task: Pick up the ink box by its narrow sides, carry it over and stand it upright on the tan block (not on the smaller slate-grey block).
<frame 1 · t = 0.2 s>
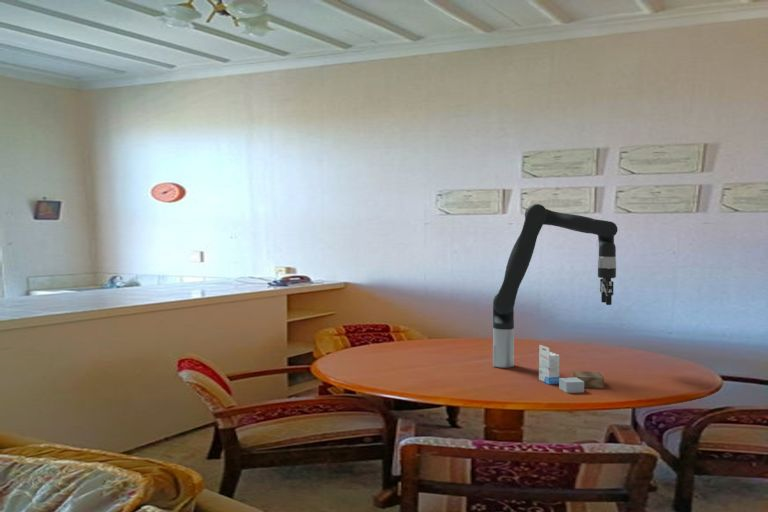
hand: (606, 303, 268), 29 cm above the table, fingers open, 8 cm apart
grey block: (571, 390, 234), on the table
tan block: (588, 384, 243), on the table
ink box: (549, 382, 247), on the table
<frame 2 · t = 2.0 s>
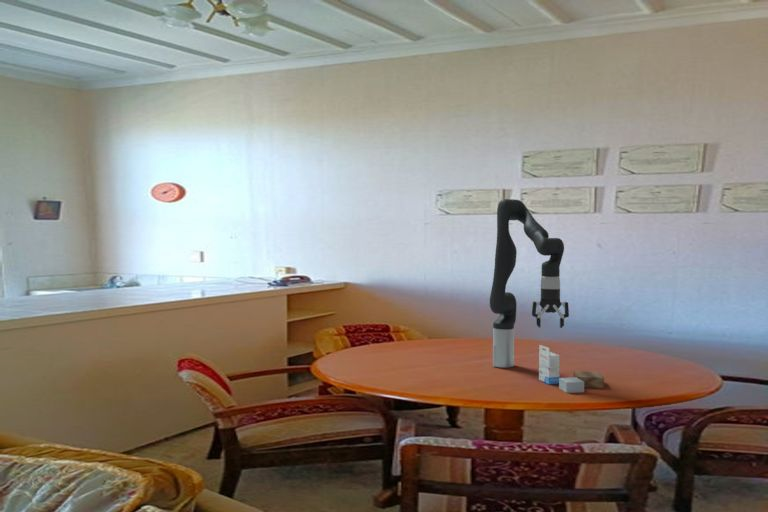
hand: (550, 327, 246), 22 cm above the table, fingers open, 8 cm apart
nothing on the table moved.
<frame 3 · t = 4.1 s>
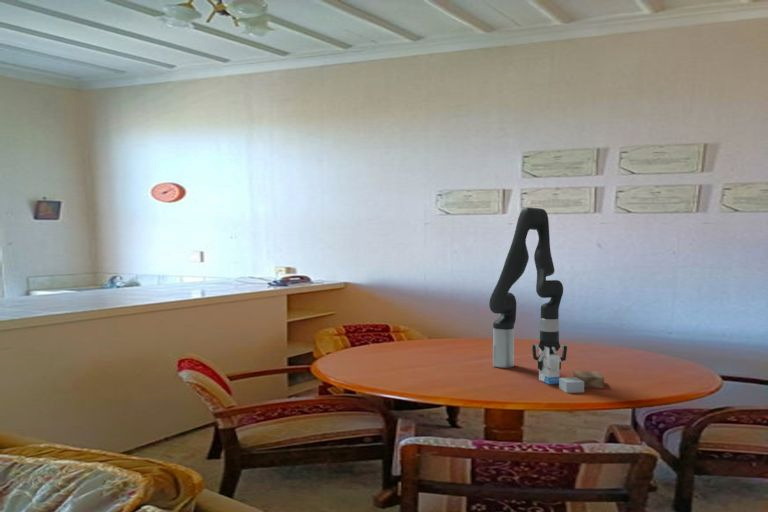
hand: (549, 370, 247), 5 cm above the table, fingers closed on ink box, 6 cm apart
ink box: (549, 382, 247), on the table, touching gripper
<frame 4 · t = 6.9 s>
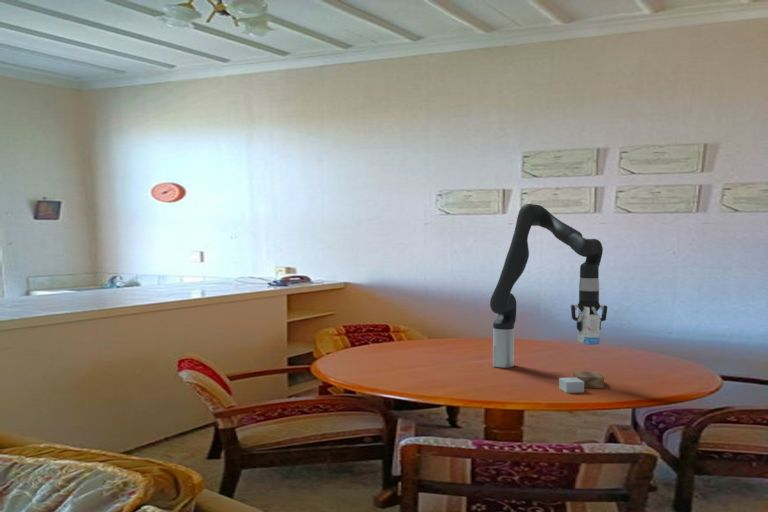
hand: (588, 331, 242), 21 cm above the table, fingers closed on ink box, 6 cm apart
ink box: (588, 343, 242), point 16 cm above the table, touching gripper
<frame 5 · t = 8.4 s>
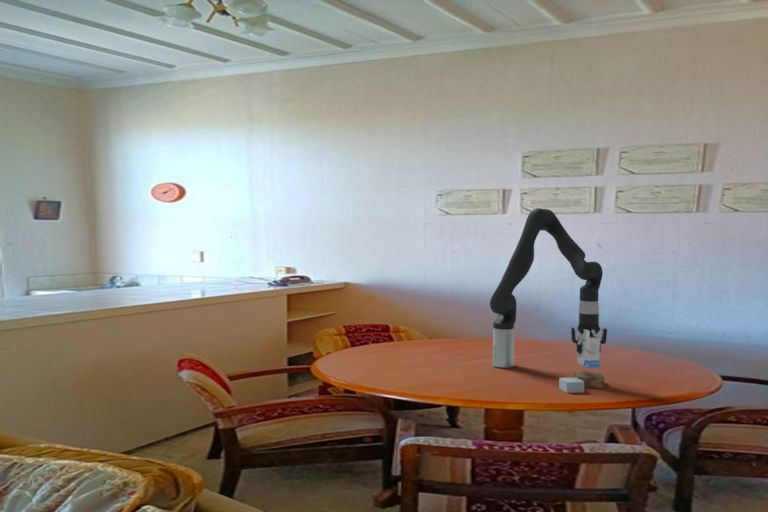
hand: (588, 353, 243), 12 cm above the table, fingers closed on ink box, 6 cm apart
ink box: (588, 366, 243), point 7 cm above the table, touching gripper
when the fingers open (9 cm above the table, at t = 9.5 s): ink box stays where it is, resting on tan block.
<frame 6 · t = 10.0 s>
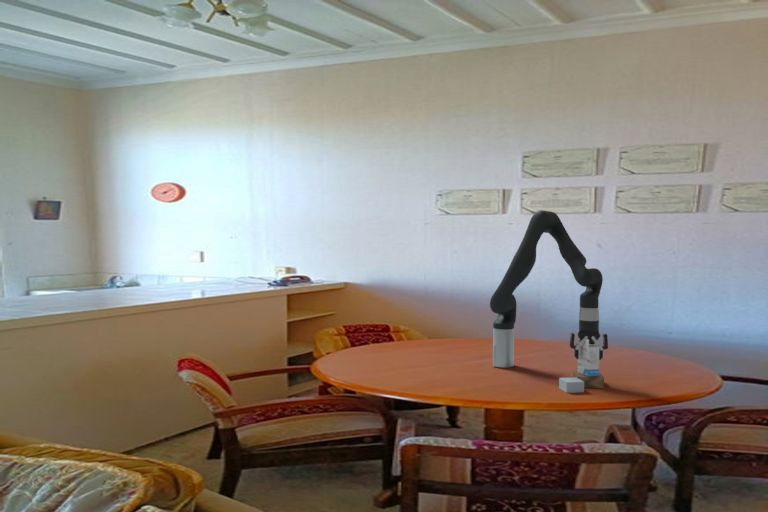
hand: (588, 359, 243), 10 cm above the table, fingers open, 8 cm apart
ink box: (588, 374, 243), point 4 cm above the table, touching tan block
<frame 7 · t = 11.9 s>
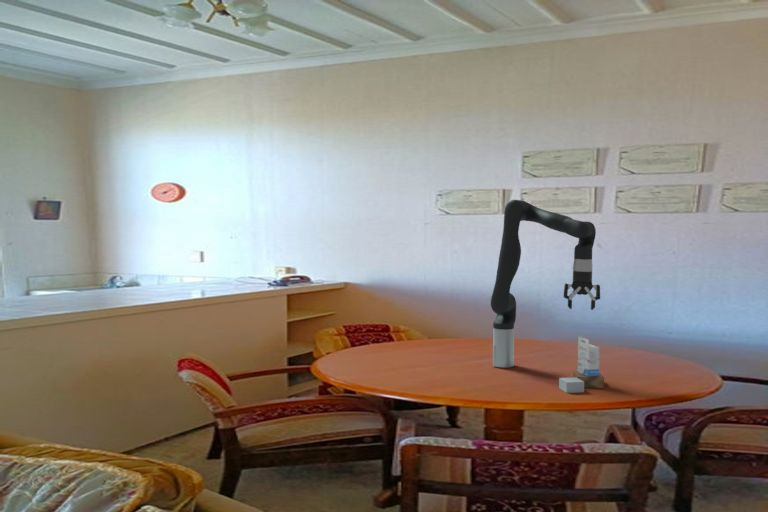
hand: (581, 309, 251), 29 cm above the table, fingers open, 8 cm apart
nothing on the table moved.
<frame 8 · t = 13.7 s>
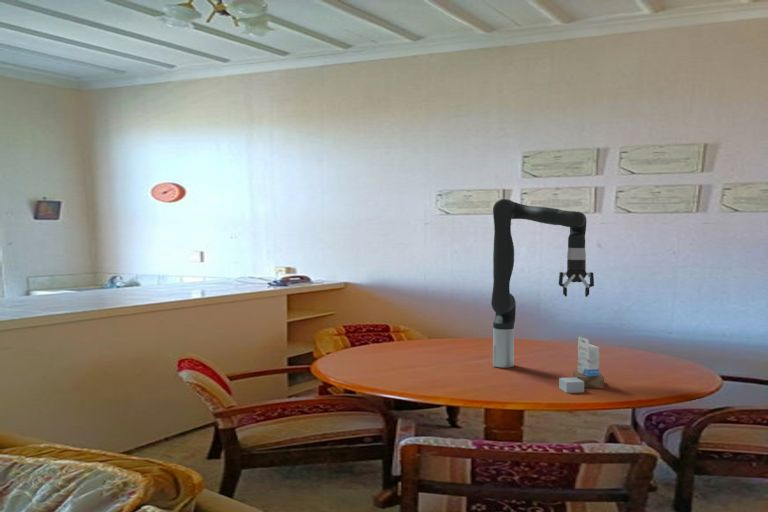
hand: (576, 296, 261), 33 cm above the table, fingers open, 8 cm apart
nothing on the table moved.
at the end: ink box inside the target area on the tan block (0.1 cm from its centre), point 3.8 cm above the tan block's base; ink box tilted 0°; the gripper is holding nothing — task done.
